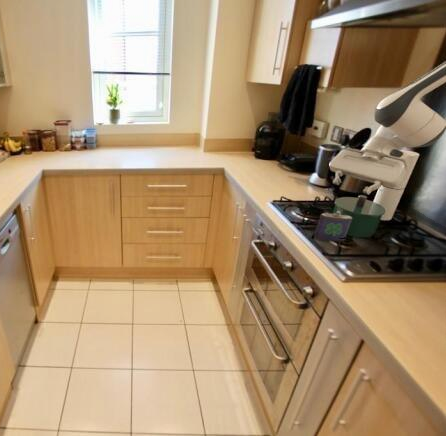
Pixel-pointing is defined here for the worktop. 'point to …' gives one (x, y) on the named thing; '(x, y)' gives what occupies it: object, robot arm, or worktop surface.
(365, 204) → the pot lid
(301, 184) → the worktop surface
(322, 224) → the flask
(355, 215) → the pot
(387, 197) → the cylindrical container
